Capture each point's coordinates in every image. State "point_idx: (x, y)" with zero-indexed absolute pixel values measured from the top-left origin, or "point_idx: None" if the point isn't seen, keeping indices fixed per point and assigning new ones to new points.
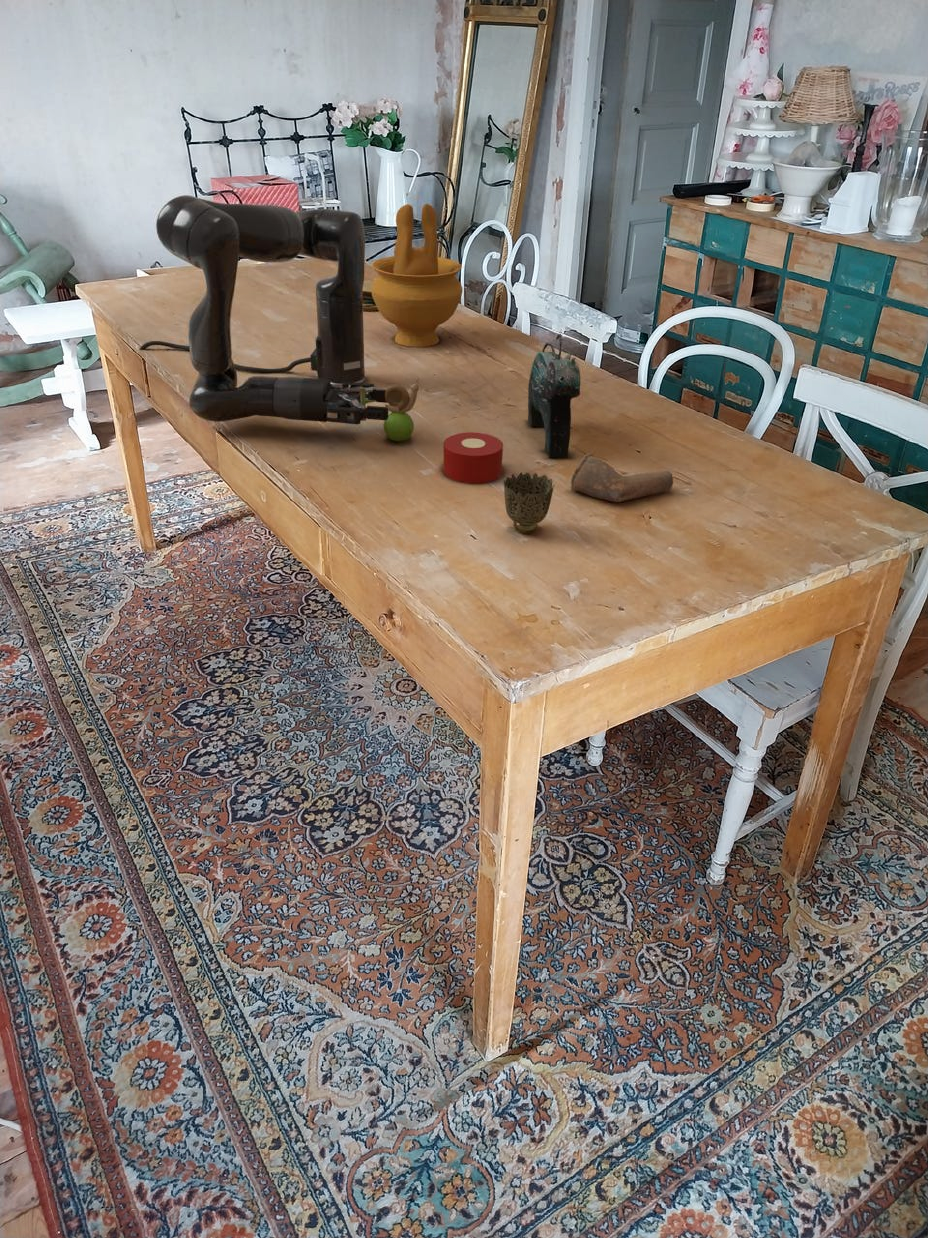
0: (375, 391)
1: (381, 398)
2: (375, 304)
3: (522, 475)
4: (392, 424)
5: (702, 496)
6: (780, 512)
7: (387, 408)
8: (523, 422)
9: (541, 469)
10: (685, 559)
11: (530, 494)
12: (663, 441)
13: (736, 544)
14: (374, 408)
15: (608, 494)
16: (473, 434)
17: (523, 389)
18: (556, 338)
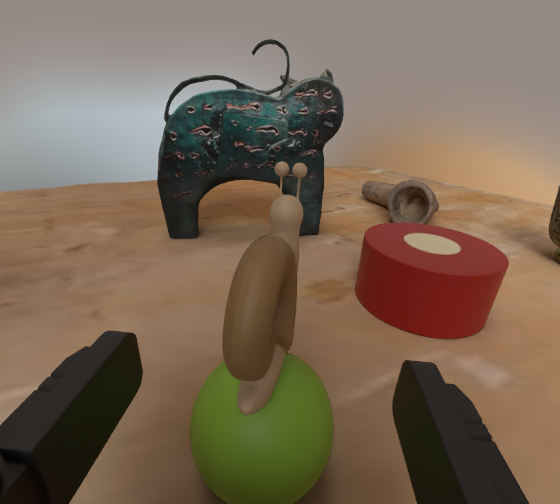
0: (4, 471)
1: (83, 448)
2: None
3: None
4: (329, 424)
5: None
6: (377, 181)
7: (412, 361)
8: (171, 242)
9: (359, 242)
10: (499, 207)
11: (557, 222)
12: (251, 190)
13: (446, 194)
14: (469, 439)
15: (436, 207)
16: (379, 241)
17: (4, 232)
18: (254, 52)
